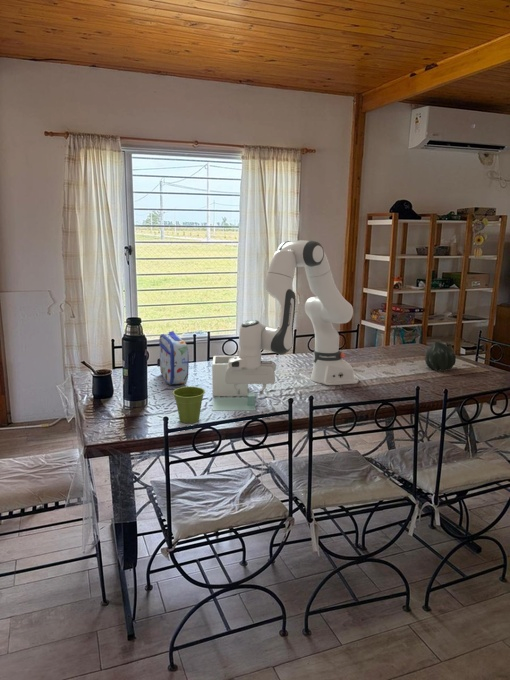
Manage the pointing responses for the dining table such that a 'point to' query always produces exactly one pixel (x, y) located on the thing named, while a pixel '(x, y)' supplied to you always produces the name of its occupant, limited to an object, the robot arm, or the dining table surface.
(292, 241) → the robot arm
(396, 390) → the dining table surface
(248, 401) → the lid
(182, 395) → the plant pot
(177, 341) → the lunch box
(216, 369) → the tub
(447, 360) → the squash
